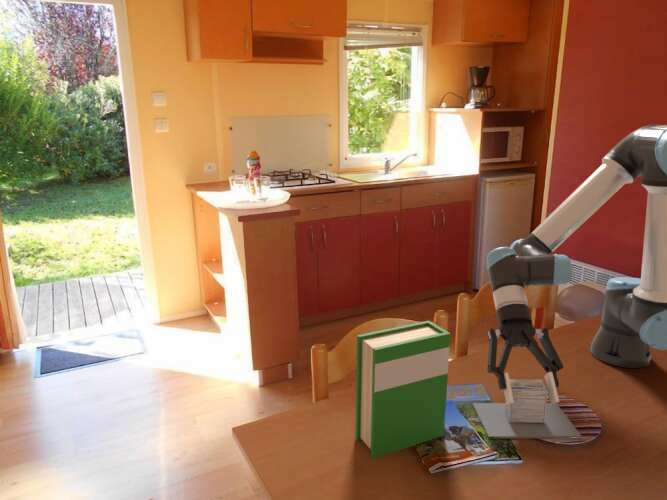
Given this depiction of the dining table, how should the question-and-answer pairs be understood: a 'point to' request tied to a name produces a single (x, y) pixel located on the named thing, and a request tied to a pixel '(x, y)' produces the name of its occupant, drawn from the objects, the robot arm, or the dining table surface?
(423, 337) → the hardback book
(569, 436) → the mat
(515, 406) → the medicine box
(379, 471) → the dining table surface
